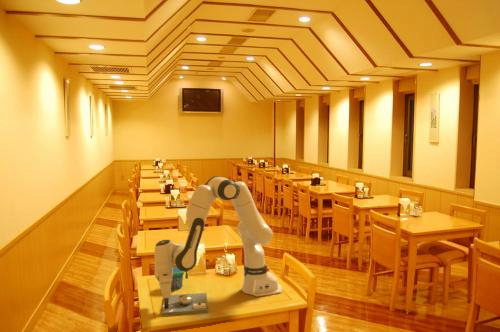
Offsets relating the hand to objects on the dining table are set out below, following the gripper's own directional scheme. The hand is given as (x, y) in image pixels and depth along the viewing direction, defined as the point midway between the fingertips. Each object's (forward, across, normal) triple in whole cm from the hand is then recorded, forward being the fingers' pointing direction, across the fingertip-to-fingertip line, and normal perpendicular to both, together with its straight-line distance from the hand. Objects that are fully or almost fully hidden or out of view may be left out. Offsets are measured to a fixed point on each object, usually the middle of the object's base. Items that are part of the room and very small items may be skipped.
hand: (164, 299), depth 202 cm
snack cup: (+5, -26, +9) cm, 28 cm away
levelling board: (+5, -2, +11) cm, 12 cm away
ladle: (+3, +1, +7) cm, 7 cm away
